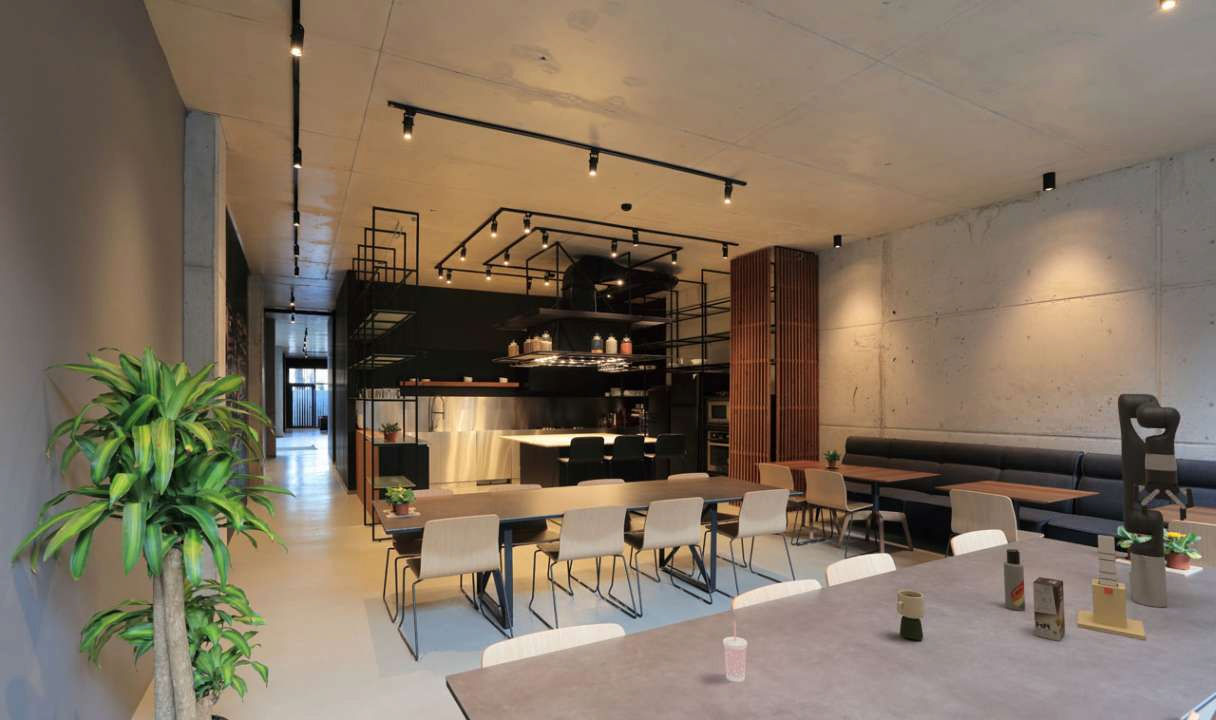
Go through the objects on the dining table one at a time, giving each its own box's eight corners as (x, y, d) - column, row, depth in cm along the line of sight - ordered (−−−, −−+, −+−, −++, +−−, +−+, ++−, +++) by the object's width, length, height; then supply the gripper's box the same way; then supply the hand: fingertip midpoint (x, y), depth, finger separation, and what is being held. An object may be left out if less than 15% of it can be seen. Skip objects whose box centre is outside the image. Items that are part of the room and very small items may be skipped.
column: (1100, 597, 193) (1097, 534, 195) (1117, 599, 191) (1114, 536, 192) (1100, 600, 190) (1097, 536, 192) (1117, 603, 188) (1114, 538, 189)
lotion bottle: (1028, 611, 202) (1026, 552, 204) (1009, 610, 204) (1007, 551, 205) (1020, 606, 208) (1018, 548, 209) (1002, 604, 209) (1000, 547, 211)
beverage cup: (720, 672, 154) (720, 617, 155) (743, 671, 155) (742, 616, 156) (727, 683, 148) (726, 626, 149) (750, 682, 149) (750, 625, 150)
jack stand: (1079, 613, 201) (1077, 573, 202) (1142, 625, 191) (1140, 583, 192) (1077, 627, 189) (1075, 584, 190) (1145, 640, 179) (1143, 595, 180)
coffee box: (1060, 641, 177) (1058, 586, 178) (1034, 635, 181) (1032, 582, 183) (1065, 633, 183) (1063, 580, 184) (1040, 628, 188) (1038, 576, 189)
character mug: (913, 630, 184) (912, 588, 185) (934, 639, 178) (933, 595, 179) (888, 636, 180) (887, 592, 181) (908, 645, 173) (907, 599, 174)
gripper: (1189, 469, 192) (1192, 520, 191) (1131, 465, 201) (1133, 514, 200) (1192, 471, 186) (1195, 523, 185) (1132, 467, 195) (1134, 517, 194)
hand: (1163, 518), depth 192 cm, fingers open, 8 cm apart
